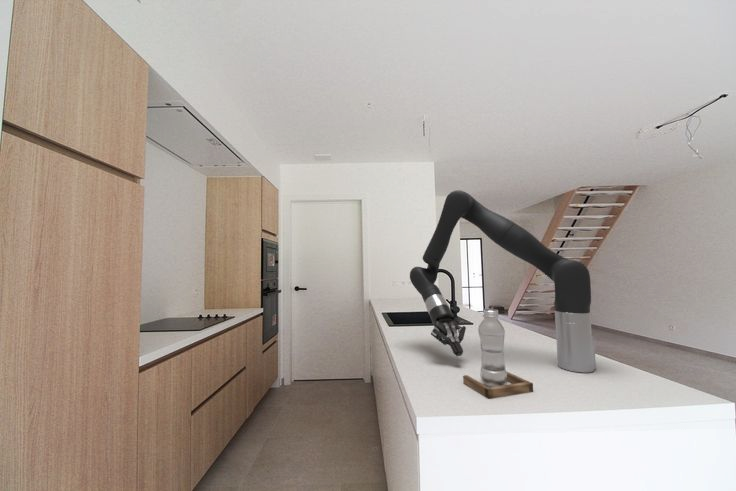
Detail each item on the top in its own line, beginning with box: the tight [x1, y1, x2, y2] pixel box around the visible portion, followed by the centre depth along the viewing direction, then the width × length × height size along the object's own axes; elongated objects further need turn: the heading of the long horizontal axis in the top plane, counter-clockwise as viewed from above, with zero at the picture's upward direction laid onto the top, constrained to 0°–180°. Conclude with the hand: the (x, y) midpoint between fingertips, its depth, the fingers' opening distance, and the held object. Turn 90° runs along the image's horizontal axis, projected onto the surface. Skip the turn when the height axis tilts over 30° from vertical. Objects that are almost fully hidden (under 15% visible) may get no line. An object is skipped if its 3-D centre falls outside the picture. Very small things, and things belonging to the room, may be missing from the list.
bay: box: [462, 370, 534, 399], centre depth 78 cm, size 13×10×2 cm
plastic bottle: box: [477, 308, 508, 388], centre depth 79 cm, size 6×7×20 cm
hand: (459, 354), depth 94 cm, fingers closed
